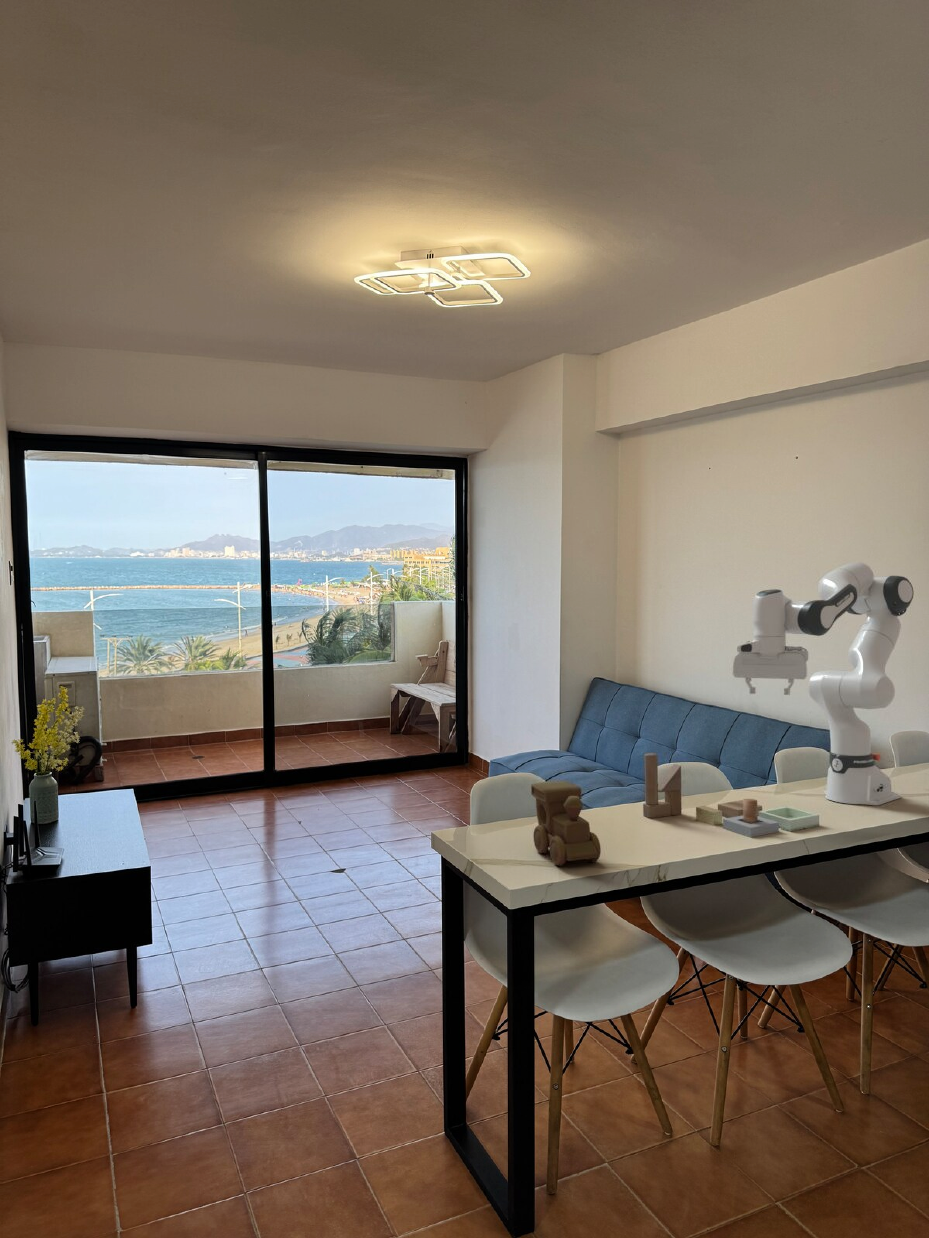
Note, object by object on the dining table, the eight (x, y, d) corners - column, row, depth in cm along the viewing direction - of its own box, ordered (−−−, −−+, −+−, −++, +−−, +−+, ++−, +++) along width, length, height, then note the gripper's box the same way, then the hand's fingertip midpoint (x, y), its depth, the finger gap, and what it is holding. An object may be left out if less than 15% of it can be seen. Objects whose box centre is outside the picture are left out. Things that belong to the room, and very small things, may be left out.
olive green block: (704, 817, 241) (704, 805, 241) (722, 823, 235) (721, 810, 235) (696, 819, 240) (696, 807, 240) (713, 825, 234) (713, 812, 234)
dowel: (750, 827, 231) (750, 798, 231) (760, 830, 228) (760, 800, 227) (740, 829, 229) (740, 799, 229) (750, 832, 226) (750, 802, 226)
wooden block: (682, 814, 245) (681, 752, 245) (649, 818, 242) (648, 755, 241) (675, 811, 249) (674, 750, 248) (642, 815, 245) (641, 753, 245)
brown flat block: (741, 811, 248) (741, 800, 248) (762, 818, 241) (762, 805, 241) (717, 816, 244) (717, 804, 244) (738, 822, 237) (737, 810, 237)
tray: (787, 816, 241) (787, 806, 241) (819, 825, 231) (819, 814, 231) (758, 822, 236) (758, 811, 236) (789, 831, 226) (789, 820, 226)
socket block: (750, 822, 235) (750, 813, 235) (778, 831, 226) (778, 822, 226) (723, 828, 231) (722, 818, 231) (750, 837, 222) (750, 827, 222)
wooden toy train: (528, 847, 217) (527, 783, 217) (569, 843, 220) (568, 779, 220) (560, 871, 198) (559, 800, 197) (605, 866, 201) (603, 796, 201)
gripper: (809, 645, 243) (809, 694, 243) (734, 645, 252) (735, 691, 253) (807, 647, 237) (807, 696, 238) (731, 646, 247) (731, 694, 247)
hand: (769, 694), depth 245 cm, fingers open, 8 cm apart
